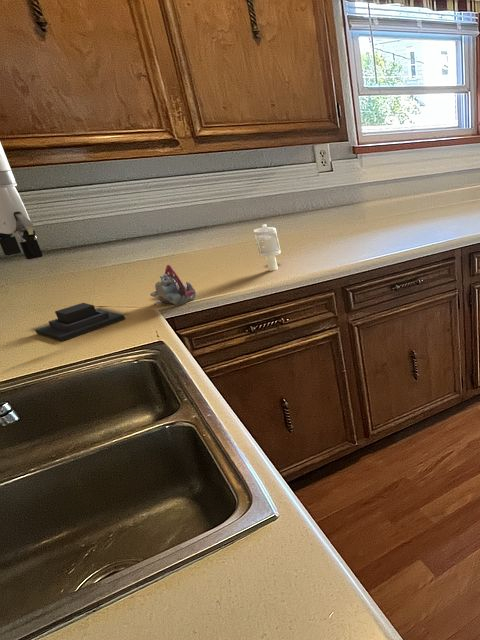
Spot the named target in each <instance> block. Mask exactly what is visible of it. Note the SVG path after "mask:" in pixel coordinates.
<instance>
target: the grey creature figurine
mask: <svg viewBox="0 0 480 640" xmlns="http://www.w3.org/2000/svg"><path fill="white" fill-rule="evenodd" d="M164 271H165V272H164V274H163V275H160V276H159V278H160V281H157V282H156V283H155V285H154V288H155V291H152V292H151V293H150V294H149V295H150V297H153V298H156V299H157V301H155V302H154V303H153V305H157V304H158V305H159V304H161V303H164V304H171V305H174V306H182V305H184V304H186V303H188V302H191V301H194V300H195V298H196V296H197V292H196V289H195V288H194V286H193V285H192V283H191V282H190V281H186V282H185V283H186V285H185V283H184V282H183V281H182V280H181V278H180V276H178V274H177V272H175V270H174V269H173V267H172V266H171V265H170V264H167V265H166V267H165V270H164Z"/></svg>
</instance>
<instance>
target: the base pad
mask: <svg viewBox="0 0 480 640" xmlns="http://www.w3.org/2000/svg"><path fill="white" fill-rule="evenodd" d="M95 310H96V312H97V315H95V316H92V317H89V318H86V319H83V320H80V321H77V322H74V323H71V324H64V323H60V322H59V320H58V318H55V319H52V320H48V325H45V326H41V327H39V328H36V329H34V330H35V333H36V334H37V335H39V336H43V337H46V338H49V339H52V340H56V341H59V342H65V341H67V340H71V339H73V338H76V337H79V336H82V335H85V334H87V333H90V332H93V331H95V330H99V329H102V328H104V327H107V326H110V325H112V324H116V323H119V322H121V321H124V320H126V316H125V314H122V313H118V312H113V311H110V310H106V309H101V308H95Z"/></svg>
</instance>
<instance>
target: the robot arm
mask: <svg viewBox="0 0 480 640" xmlns="http://www.w3.org/2000/svg"><path fill="white" fill-rule="evenodd" d="M17 186H18V183H17V180H16V178H15V175H14V173H13V171H12V168H11V166H10V163H9V160H8V158H7V155H6V153H5V150H4V147H3V145H2V142H1V141H0V248H1V250H2V253H3V254H4V255H5V256H13V255H18V254H21V253H22V252H23V255H24V258H25V259H26V260H33V259H38V258H42V257H43V252H42V250H41V248H40V245H39V242H38V237H37V235H36V231H35V229H34V223H33V222H32V220H31V219H30V216H29V214H28V211H27V209H26V206H25V205H24V203H23V199H22V198H21V196H20V194H19V192H18V190H17ZM14 234H15V235H16V236H13V235H14ZM16 237H17V238H18V239H19V241H20V242H18V240H17V238H16ZM20 247H21V248H20Z"/></svg>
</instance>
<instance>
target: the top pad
mask: <svg viewBox="0 0 480 640" xmlns="http://www.w3.org/2000/svg"><path fill="white" fill-rule="evenodd" d="M95 309H96V307H95V305H94V304H90V303H87V302H81V303H77V304H74V305H71V306H68V307H65V308H61V309H59V310H56V311H55V310H54V313H55V316H56V319H58V320H59V322H60V323H64V324H71V323H74V322H77V321H80V320H83V319H86V318H89V317H92V316H95V315H97V312H96V310H97V309H96V310H95Z"/></svg>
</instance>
